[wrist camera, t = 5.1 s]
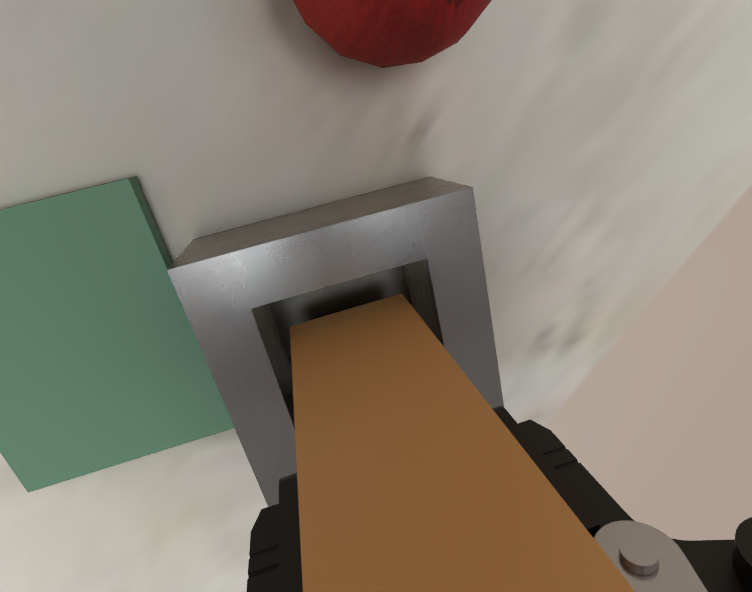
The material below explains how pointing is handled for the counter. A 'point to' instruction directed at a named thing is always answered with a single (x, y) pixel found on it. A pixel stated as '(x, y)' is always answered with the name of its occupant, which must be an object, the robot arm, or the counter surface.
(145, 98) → the counter surface
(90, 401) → the mat
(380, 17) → the red onion
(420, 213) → the gray square frame
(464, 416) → the plug
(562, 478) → the robot arm
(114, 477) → the counter surface
